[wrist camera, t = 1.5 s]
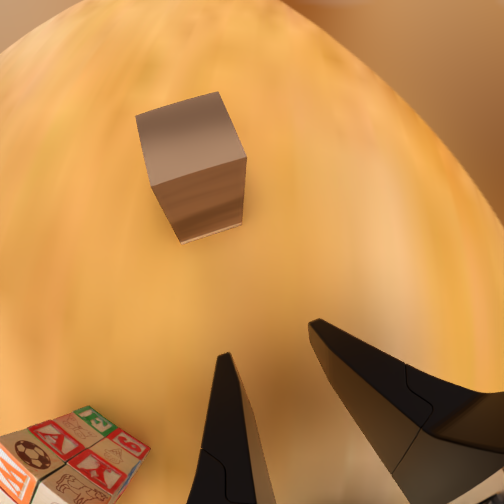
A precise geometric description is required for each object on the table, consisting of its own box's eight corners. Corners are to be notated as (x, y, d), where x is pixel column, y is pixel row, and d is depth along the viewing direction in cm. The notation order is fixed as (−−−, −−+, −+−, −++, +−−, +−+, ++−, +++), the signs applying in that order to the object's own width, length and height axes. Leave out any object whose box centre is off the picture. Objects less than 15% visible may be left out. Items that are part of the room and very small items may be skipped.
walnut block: (241, 224, 25) (247, 156, 15) (181, 244, 24) (150, 186, 15) (222, 173, 26) (218, 91, 16) (166, 190, 25) (135, 115, 16)
